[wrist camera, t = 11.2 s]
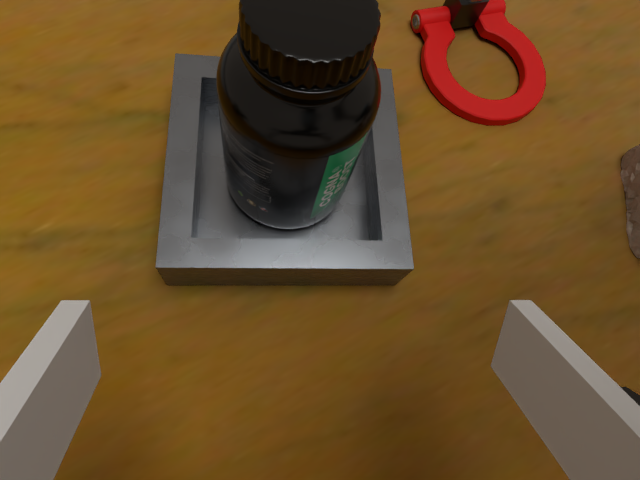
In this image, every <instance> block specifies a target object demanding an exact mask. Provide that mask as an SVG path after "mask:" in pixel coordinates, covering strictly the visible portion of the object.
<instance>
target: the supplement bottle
mask: <svg viewBox="0 0 640 480" xmlns="http://www.w3.org/2000/svg"><path fill="white" fill-rule="evenodd" d="M380 16H381V13H380V11H379V9H378V2H377V1H376V0H240V2H239V23H238V29H237V33H236V34H235V35H234V36H233V37H232V38H231V40H230V41H229V42H228V44H227V45H226V47H225V49H224V51H223V52H222V55H221V57H220V60H219V63H218V67H217V74H216V90H217V100H218V109H219V119H220V128H221V137H222V147H223V156H224V166H225V173H226V180H227V184H228V188H229V191H230V193H231V195H232V197H233V199H234V201H235V202H236V203H237V205H238V206H239V207H240V208H241V209H242V210H243V211H244V212H245V213H246V214H247V215H248V216H250V217H251V218H252V219H254V220H256V221H257V222H260V223H262V224H264V225H267V226H270V227H274V228H279V229H298V228H303V227H307V226H310V225H312V224H315V223H317V222H318V221H320V220H322V219H323V218H325V217H326V216H327V215H329V214H330V213H331V212H332V211H333V210H334V208H335V207H336V206H337V204H338V203H339V201H340V199H341V197H342V195H343V193H344V191H345V189H346V186H347V184H348V182H349V179H350V177H351V175H352V172H353V170H354V168H355V165H356V163H357V161H358V158H359V156H360V154H361V151H362V149H363V146H364V144H365V142H366V139H367V137H368V135H369V132H370V130H371V128H372V125H373V123H374V120H375V118H376V115H377V112H378V109H379V105H380V100H381V82H380V76H379V73H378V69H377V66H376V64H375V61H374V59H373V52H374V46H375V43H376V39H377V36H378V33H379V30H380Z"/></svg>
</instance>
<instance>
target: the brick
mask: <svg viewBox="0 0 640 480" xmlns="http://www.w3.org/2000/svg"><path fill="white" fill-rule="evenodd" d="M621 168H622V171H621V179H622V181H623V185H624V191H625V193H626V205H627V213H626V215H627V235H628V239H629V246H630V248H631V250H632V252H633V253H634V255H635V256H636V257H637V258H639V259H640V144H639V146H635V147H634V148H632V149H630V150H629V151H628V152H627V153H626V154H625V155H624V156H623V158H622V162H621Z"/></svg>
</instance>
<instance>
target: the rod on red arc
mask: <svg viewBox="0 0 640 480" xmlns="http://www.w3.org/2000/svg"><path fill="white" fill-rule="evenodd" d="M505 10H506V5H505V1H504V0H445V2H444V4H443V6H441V7H435V8H428V9H421V10H415V11H414V12H413V13H412V16H411V26H412V30H413V31H414V32H415V33H420V34H421V36H422V38H423V40H424V42H425V43H424V45H423V47H422V53H421V67H422V72H423V77H424V79H425V81H426V83H427V85H428V87H429V89H430V91H431V92H432V93H433V94H434V95H435V97H436V98H437V99H438V100H439V101H440V103H441V104H443V105H444V106H445V107H446V108H448V109H449V110H450V111H452V112H453V113H454V114H456V115H458V116H460V117H462V118H464V119H466V120H468V121H470V122H474V123H478V124H483V125H506V124H509V123H513V122H517V121H518V120H520V119H521V118H523V117H524V116H526V115H527V114H529V113H530V112H531V111H532V110H533V109H534V108H535V106H536V105H537V104H538V102H539V101H540V100H541V98H542V96H543V93H544V89H545V86H546V72H545V68H544V65H543V62H542V58H541V56H540V55H539V53H538V51H537V50H536V48H535V46H534V45H533V43H532V42H531V41H530V40H529V39H528V38H527V37H526V36H525V35H524V34H523V33H522V32H521V31H520V30H518V29H517V28H516V27H514V26H513V25H512V24H510V23H508V21H507V19H506V17H505V15H504V14H505ZM472 25H475V27H476V29H477V31H478V33H479V35H480V36H481V37H483V38H485V39H488V40H490V41H492V42H494V43H497V44H498V45H499V46H501V47H502V48H503V49H505V50H506V51H507V52H508V53H509V55H510V56H511V57H512V58H513V60H514V62H515V63H516V65H517V68H518V71H519V75H520V80H519V87H518V90H517V92H516V93H515V94H514V95H512V96H511V97H509V98H505V99H501V100H488V99H484V98H480V97H478V96H475V95H473V94H471V93H469V92H468V91H467V90H465V89H464V88H463V87H461V86H460V85H459V84H458V82H457V81H456V80H455V79H454V78H453V76H452V74H451V72H450V70H449V68H448V65H447V60H446V55H447V48H448V46H449V45H450V44H451V43H452V41H453V39H454V38H455V33H454V31H453V29H457V28H463V27H469V26H472Z"/></svg>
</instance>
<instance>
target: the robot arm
mask: <svg viewBox="0 0 640 480" xmlns="http://www.w3.org/2000/svg"><path fill="white" fill-rule="evenodd" d="M491 367H492V369H493V370H494V372H495V373H496V375H497V376H498V377H499V379H500V380H501V382H502V383H503V385H504V386H505V387H506V389H507V390H508V392H509V393H510V395H511V396H512V397H513V399H514V400H515V402H516V403H517V405H518V406H519V407H520V409H521V410H522V412H523V413H524V415H525V416H526V417H527V419H528V420H529V422H530V423H531V425H532V426H533V427H534V429H535V430H536V432H537V433H538V435H539V436H540V437H541V439H542V440H543V442H544V443H545V445H546V446H547V447H548V449H549V450H550V452H551V453H552V455H553V456H554V457H555V459H556V460H557V462H558V463H559V465H560V466H561V467H562V469H563V470H564V472H565V473H566V475H567V476H568V477H569V479H570V480H640V395H638V394H636V393H635V392H633V391H632V390H630V389H629V388H627V387H620V386H619V385H618V384H617V383H615V382H614V381H613V380H612V379H611V378H610V377H609V376H608V375H607V374H606V373H605V372H604V371H603V370H602V369H601V368H600V367H599V366H598V365H597V364H596V363H595V362H594V361H593V360H592V359H591V358H590V357H589V356H588V355H587V354H586V353H585V352H584V351H583V350H582V349H581V348H580V347H579V346H578V345H576V344H575V343H574V342H573V341H572V340H571V339H570V338H569V337H568V336H567V335H566V334H565V333H564V332H563V331H562V330H561V329H560V328H559V327H558V326H557V325H556V324H555V323H554V322H553V321H552V320H551V319H550V318H549V317H548V316H547V315H546V314H545V313H544V312H543V311H542V310H541V309H540V308H539V307H538V306H536V305H535V304H534V303H533V302H532V301H531V300H510V301H509V304H508V308H507V311H506V315H505V318H504V321H503V325H502V328H501V332H500V335H499V339H498V342H497V346H496V349H495V353H494V356H493V360H492V363H491ZM100 377H101V370H100V364H99V357H98V351H97V344H96V338H95V331H94V325H93V318H92V311H91V305H90V300H62V301H61V302H60V303H59V305H58V306H57V307H56V309H55V310H54V311H53V313H52V314H51V315H50V317H49V318H48V319H47V321H46V322H45V324H44V325H43V326H42V328H41V329H40V330H39V332H38V333H37V334H36V336H35V337H34V338H33V340H32V341H31V343H30V344H29V345H28V347H27V348H26V349H25V351H24V352H23V353H22V355H21V356H20V357H19V359H18V360H17V361H16V363H15V364H14V366H13V367H12V368H11V370H10V371H9V372H8V374H7V375H6V376H5V378H4V379H3V380H2V382H1V383H0V480H53V479H54V477H55V475H56V473H57V471H58V468H59V466H60V464H61V462H62V460H63V458H64V455H65V453H66V451H67V449H68V447H69V445H70V442H71V440H72V438H73V436H74V434H75V431H76V429H77V427H78V425H79V423H80V421H81V418H82V416H83V414H84V412H85V410H86V408H87V405H88V403H89V401H90V399H91V397H92V395H93V392H94V390H95V388H96V386H97V384H98V381H99V379H100Z"/></svg>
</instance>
